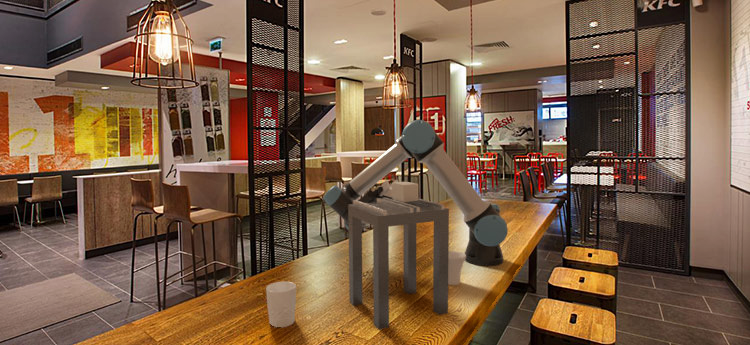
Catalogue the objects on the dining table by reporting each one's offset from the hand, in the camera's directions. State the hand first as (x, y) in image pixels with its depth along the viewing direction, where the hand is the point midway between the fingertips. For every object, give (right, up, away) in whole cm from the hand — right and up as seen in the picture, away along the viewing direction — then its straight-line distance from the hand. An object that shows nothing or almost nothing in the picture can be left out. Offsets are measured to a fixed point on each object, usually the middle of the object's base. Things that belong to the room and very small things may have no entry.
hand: (392, 183), depth 129 cm
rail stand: (+1, -36, -9) cm, 37 cm away
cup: (+21, -34, +11) cm, 42 cm away
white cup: (-31, -37, -18) cm, 52 cm away
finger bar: (+1, -4, -1) cm, 4 cm away
